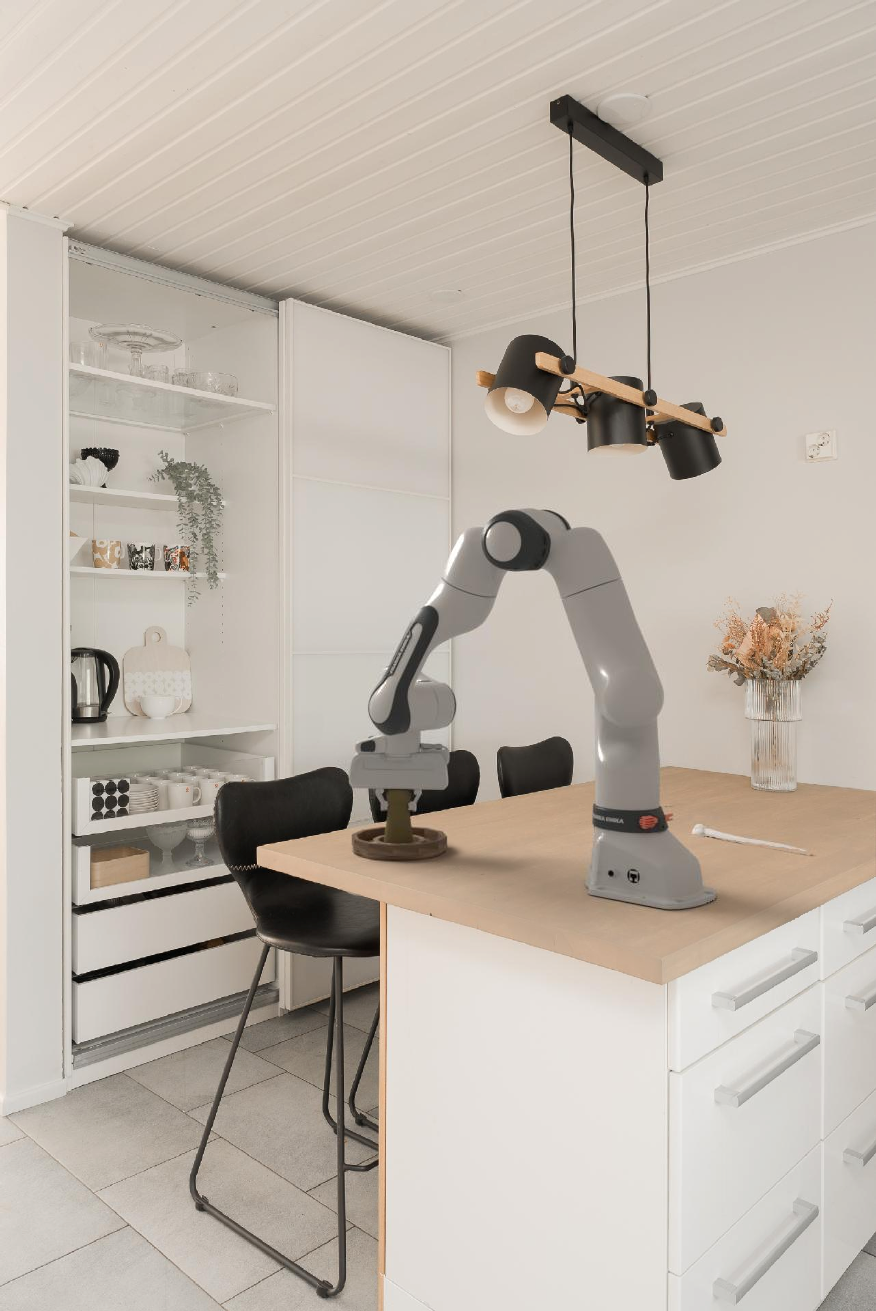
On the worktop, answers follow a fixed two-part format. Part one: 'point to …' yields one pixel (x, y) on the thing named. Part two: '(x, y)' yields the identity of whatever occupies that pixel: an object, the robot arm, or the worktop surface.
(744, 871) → the worktop surface
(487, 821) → the worktop surface
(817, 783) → the worktop surface
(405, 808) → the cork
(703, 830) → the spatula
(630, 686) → the robot arm
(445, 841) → the tray
